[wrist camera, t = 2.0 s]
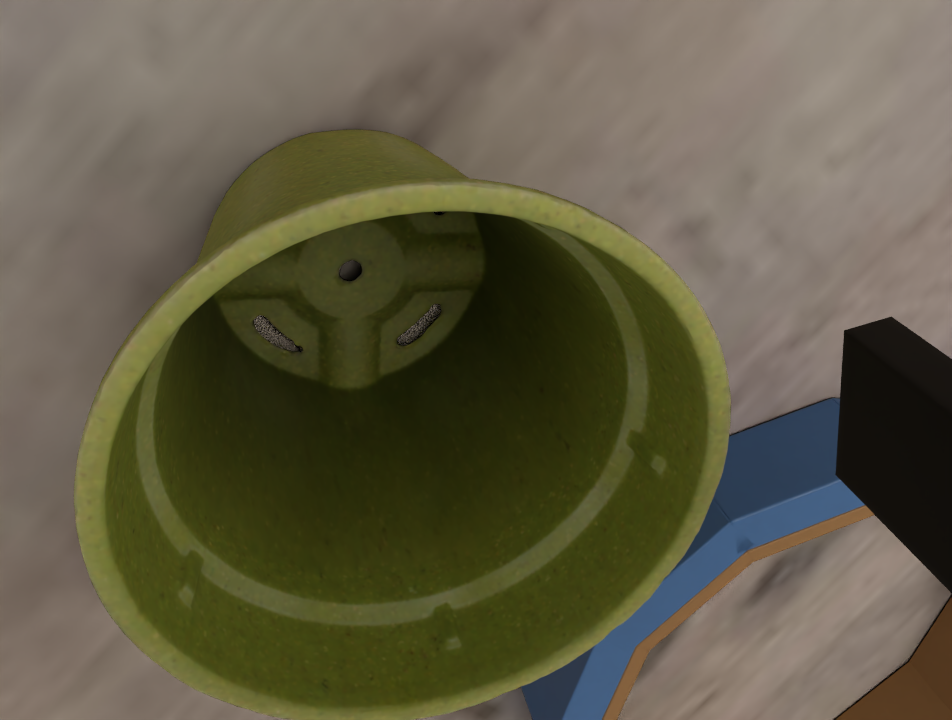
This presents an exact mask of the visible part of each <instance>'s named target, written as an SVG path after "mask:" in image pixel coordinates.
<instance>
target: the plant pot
mask: <svg viewBox="0 0 952 720" xmlns="http://www.w3.org/2000/svg"><path fill="white" fill-rule="evenodd" d="M440 211H445V213H444V214H442V215H436V214H434V212H440ZM351 260H354V261H356V262H358V263H360V265H361V267H362V273H361V275H360V276H358V277H357V279H356V280H354V281H345V280H343V279H342V278H341V277H340V276H339V269H340V267H341V265H343V264H344V263H345V262H348V261H351ZM433 304H440V308H441V315H440V316H439V317H438V318H437V319H436V320H435V321H434V322H433V323H432V324H431V325H430V326H429V327H428V328H427V330H426V331H425V333H424V334H423V335H422V336H421V337H420V338H418V339H417V340H415V341H414V342H412V343H411V344H408V345H406V346H403V345H398V344H397V338H398V337H399V336H400V335H401V334H402V333H405V332H406V330H408V329H409V328H410V327H411V326H413V325H414V324H415V323H416V322H417V321H418V320H419V319H420V318H421V317H423V316H424V314H425V313H427V312H428V311H429V309H430V307H431V306H432V305H433ZM258 315H262V316H265V317H266V318H268V320H269V321H270V323H271V324H273V325H274V326H275V327H276V328H277V329H278V330H279V331H280V332H281V333H282V334H284V335H285V336H286V337H287V338H289V339H291V340H293V341H294V343H295V345H296V346H301V347H302V349H303V351H302V352H299V351H295V352H292V351H288V350H285V349H282V348H280V347H277V346H275V345H274V344H272V343H270V342H269V341H267V340H266V339H265V338H264V337H263V336H262V335H261V334H260V333H259V332H258V331H257V330H256V328H255V325H254V322H253V320H254V319H255V318H256V317H257V316H258ZM730 413H731V395H730V388H729V380H728V374H727V369H726V364H725V361H724V357H723V353H722V349H721V346H720V343H719V341H718V338H717V336H716V334H715V331H714V329H713V327H712V324H711V322H710V321H709V319H708V317H707V315H706V313H705V311H704V309H703V308H702V306H701V305H700V303H699V301H698V300H697V298H696V297H695V296H694V294H693V293H692V291H691V290H690V289H689V287H688V286H687V285H686V283H685V282H684V281H683V280H682V279H681V278H680V277H679V275H678V274H677V273H676V272H675V271H674V270H673V269H672V268H671V267H670V266H669V265H668V264H667V263H666V262H665V261H664V260H663V259H662V258H661V257H660V256H658V255H657V254H656V253H655V252H654V251H653V250H651V249H650V248H649V247H648V246H646V245H645V244H644V243H642V242H641V241H640V240H638V239H637V238H635V237H634V236H632V235H631V234H630V233H628V232H627V231H625V230H624V229H622V228H621V227H619V226H617V225H615V224H614V223H612V222H610V221H608V220H606V219H605V218H603V217H601V216H599V215H597V214H596V213H594V212H592V211H590V210H588V209H587V208H584V207H582V206H579V205H577V204H575V203H572V202H570V201H567V200H565V199H562V198H559V197H556V196H553V195H550V194H547V193H544V192H542V191H539V190H535V189H531V188H526V187H521V186H516V185H511V184H506V183H499V182H492V181H485V180H479V179H469V178H467V177H466V176H464V175H463V174H462V173H461V172H459V171H458V170H457V169H455V168H454V167H452V166H451V165H449V164H448V163H446V162H445V161H443V160H442V159H440V158H439V157H437V156H435V155H434V154H432V153H431V152H429V151H427V150H426V149H424V148H422V147H421V146H419V145H418V144H416V143H414V142H412V141H409V140H407V139H405V138H403V137H400V136H397V135H394V134H390V133H387V132H381V131H374V130H359V129H358V130H336V131H326V132H316V133H309V134H306V135H303V136H300V137H297V138H294V139H292V140H290V141H287V142H285V143H283V144H281V145H280V146H278V147H276V148H274V149H272V150H270V151H269V152H268V153H266V154H265V155H263V156H262V157H260V158H259V159H257V160H256V161H255V162H254V163H253V164H252V165H250V166H249V167H248V168H247V169H246V170H245V171H244V172H243V173H242V174H241V175H240V176H239V178H238V179H237V180H236V181H235V182H234V183H233V185H232V186H231V187H230V189H229V190H228V191H227V193H226V195H225V197H224V198H223V200H222V202H221V204H220V205H219V207H218V209H217V211H216V213H215V215H214V218H213V220H212V223H211V226H210V229H209V231H208V234H207V236H206V239H205V242H204V245H203V247H202V250H201V253H200V255H199V258H198V261H197V263H196V264H195V265H194V266H193V267H191V268H190V269H189V270H188V271H187V272H186V273H185V274H184V275H183V276H182V277H180V278H179V279H178V280H177V281H176V282H175V283H174V284H173V285H172V286H171V287H170V288H169V289H168V290H167V291H166V292H165V293H164V294H163V295H162V296H161V297H160V298H159V299H158V300H157V301H156V302H155V303H154V304H153V305H152V306H151V308H150V309H149V310H148V311H147V312H146V313H145V315H144V316H143V317H142V318H141V320H140V321H139V322H138V324H137V325H136V326H135V327H134V329H133V330H132V331H131V333H130V334H129V335H128V337H127V338H126V340H125V341H124V343H123V344H122V346H121V348H120V349H119V351H118V352H117V354H116V355H115V357H114V359H113V361H112V363H111V365H110V366H109V368H108V370H107V372H106V374H105V375H104V377H103V379H102V381H101V384H100V386H99V389H98V391H97V394H96V396H95V398H94V401H93V403H92V406H91V409H90V412H89V415H88V418H87V421H86V424H85V428H84V432H83V435H82V439H81V443H80V448H79V452H78V456H77V466H76V473H75V483H74V508H75V519H76V529H77V534H78V539H79V543H80V547H81V551H82V555H83V559H84V562H85V565H86V568H87V571H88V573H89V576H90V579H91V582H92V584H93V586H94V588H95V590H96V592H97V595H98V596H99V598H100V600H101V602H102V604H103V605H104V607H105V609H106V610H107V612H108V613H109V615H110V616H111V618H112V619H113V620H114V621H115V623H116V624H117V625H118V626H119V628H120V629H121V630H122V631H123V633H124V634H125V635H126V636H127V637H128V638H129V639H130V640H131V641H132V642H133V643H134V644H135V645H136V646H137V647H138V648H139V649H140V650H141V651H142V652H143V653H144V654H146V655H147V656H148V657H149V658H150V659H151V660H153V661H154V662H156V663H157V664H158V665H159V666H161V667H162V668H163V669H165V670H166V671H167V672H169V673H170V674H171V675H172V676H174V677H175V678H177V679H179V680H180V681H182V682H183V683H185V684H187V685H188V686H190V687H192V688H193V689H195V690H197V691H200V692H202V693H204V694H207V695H209V696H211V697H214V698H216V699H219V700H222V701H225V702H227V703H230V704H233V705H235V706H237V707H241V708H245V709H249V710H252V711H255V712H257V713H261V714H264V715H268V716H272V717H278V718H283V719H290V720H413V719H420V718H426V717H432V716H438V715H443V714H447V713H452V712H455V711H458V710H461V709H463V708H467V707H471V706H474V705H477V704H480V703H482V702H485V701H488V700H491V699H493V698H495V697H497V696H499V695H501V694H503V693H506V692H509V691H512V690H514V689H517V688H519V687H521V686H524V685H527V684H530V683H532V682H534V681H536V680H537V679H539V678H541V677H544V676H546V675H548V674H550V673H552V672H554V671H556V670H557V669H559V668H561V667H563V666H565V665H567V664H568V663H570V662H571V661H573V660H574V659H576V658H577V657H579V656H580V655H582V654H583V653H585V652H586V651H588V650H589V649H591V648H592V647H593V646H595V645H596V644H598V643H599V642H600V641H602V640H603V639H604V638H605V637H606V636H607V635H608V634H609V633H610V632H611V631H612V630H613V629H615V628H616V627H617V626H619V625H621V624H622V623H624V622H625V621H626V620H627V619H629V618H630V617H631V616H632V615H633V614H634V613H635V612H636V611H637V610H638V609H639V608H640V607H641V606H642V605H643V604H644V603H645V602H646V601H647V600H648V599H649V598H650V597H651V596H652V595H653V593H654V592H655V591H656V589H657V588H658V587H659V585H660V584H661V582H662V581H663V579H664V578H665V577H666V576H667V575H669V574H670V572H671V571H672V570H673V569H674V568H675V566H676V565H677V564H678V562H679V561H680V560H681V559H682V558H683V556H684V555H685V553H686V552H687V550H688V548H689V547H690V545H691V543H692V542H693V540H694V538H695V536H696V535H697V533H698V532H699V530H700V528H701V526H702V523H703V521H704V519H705V517H706V514H707V512H708V509H709V506H710V504H711V502H712V500H713V497H714V495H715V492H716V489H717V487H718V484H719V482H720V479H721V476H722V473H723V469H724V464H725V460H726V455H727V450H728V441H729V431H730Z"/></svg>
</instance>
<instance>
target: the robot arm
mask: <svg viewBox="0 0 952 720" xmlns="http://www.w3.org/2000/svg"><path fill="white" fill-rule="evenodd" d="M835 475H836V476H837V477H838V478H839V479H840V480H841V481H842V482H843V483H844V484H845V485H846V486H847V487H848V488H849V489H850V490H851V491H852V492H853V493H854V494H855V495H856V496H857V497H858V498H859V499H860V500H861V501H862V502H863V503H864V504H865V505H866V506H867V507H868V508H869V509H870V511H871V512H872V513H873V514H874V515H875V516H876V517H877V518H878V519H879V520H880V521H881V522H882V523H883V524H884V525H885V526H886V527H887V528H888V529H889V530H890V531H891V532H892V533H893V534H894V535H895V536H896V537H897V538H898V539H899V540H900V541H901V542H902V543H903V544H904V545H905V546H906V547H907V548H908V549H909V550H910V551H911V552H912V553H913V554H914V555H915V556H916V557H917V558H918V559H919V560H920V561H921V562H922V563H923V564H924V565H925V566H926V567H927V568H928V569H929V570H930V571H931V573H932V574H933V575H934V576H935V577H936V578H937V579H938V580H939V581H940V582H941V583H942V584H943V585H944V586H945V587H946V588H947V589H948V590H949V591H950V592H951V593H952V359H951V358H949V357H948V356H947V355H945V354H944V353H942V352H941V351H939V350H938V349H937V348H935V347H934V346H932V345H931V344H929V343H928V342H927V341H925V340H924V339H922V338H921V337H920V336H918V335H917V334H915V333H914V332H912V331H911V330H910V329H908V328H907V327H905V326H904V325H902V324H901V323H900V322H898V321H897V320H895V319H894V318H893V317H888V318H885V319H882V320H878V321H875V322H871V323H868V324H865V325H861V326H858V327H854V328H851V329H848V330H844V344H843V360H842V376H841V392H840V409H839V425H838V441H837V457H836V473H835Z"/></svg>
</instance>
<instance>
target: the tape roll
mask: <svg viewBox="0 0 952 720" xmlns="http://www.w3.org/2000/svg"><path fill="white" fill-rule="evenodd" d="M839 409H840V399H839V398H832V399H827V400H825V401H822V402H819V403H817V404H814V405H811V406H809V407H806V408H803V409H801V410H798V411H795V412H793V413H790V414H787V415H785V416H782V417H779V418H777V419H774V420H771V421H769V422H766V423H763V424H761V425H758V426H755V427H753V428H750V429H748V430H745V431H742V432H740V433H737V434H734V435H732V436H729V441H728V450H727V455H726V460H725V464H724V469H723V473H722V476H721V479H720V482H719V484H718V487H717V489H716V492H715V495H714V497H713V500H712V502H711V504H710V506H709V509H708V512H707V514H706V517H705V519H704V521H703V523H702V526H701V528H700V530H699V532H698V533H697V535H696V536H695V538H694V540H693V542H692V543H691V545H690V547H689V548H688V550H687V552H686V553H685V555H684V556H683V558H682V559H681V560H680V561H679V562H678V564H677V565H676V566H675V568H674V569H673V570H672V571H671V572H670V574H669V575H667V576H666V577H665V578H664V579H663V581H662V582H661V584H660V585H659V587H658V588H657V589H656V591H655V592H654V593H653V595H652V596H651V597H650V598H649V599H648V600H647V601H646V602H645V603H644V604H643V605H642V606H641V607H640V608H639V609H638V610H637V611H636V612H635V613H634V614H633V615H632V616H631V617H630V618H629V619H627V620H626V621H625V622H624V623H622V624H621V625H619V626H617V627H616V628H615V629H613V630H612V631H611V632H610V633H609V634H608V635H607V636H606V637H605V638H604V639H603V640H602V641H600V642H599V643H598V644H596V645H595V646H593V647H592V648H591V649H589V650H588V651H586V652H585V653H583V654H582V655H580V656H579V657H577V658H576V659H574V660H573V661H571V662H570V663H568V664H567V665H565V666H563V667H561V668H559V669H557V670H556V671H554V672H552V673H550V674H548V675H546V676H544V677H541V678H539V679H537V680H536V681H534V682H532V683H530V684H527V685H524V686H521V689H522V691H523V694H524V697H525V700H526V703H527V705H528V708H529V711H530V714H531V716H532V719H533V720H617V718H618V716H619V714H620V712H621V710H622V708H623V705H624V703H625V701H626V699H627V697H628V695H629V693H630V691H631V689H632V686H633V684H634V682H635V680H636V678H637V676H638V674H639V672H640V670H641V668H642V665H643V663H644V661H645V659H646V657H647V655H648V653H649V651H650V650H651V649H652V648H653V647H654V646H655V645H657V644H658V643H659V642H660V641H661V640H662V639H664V638H665V637H666V636H667V635H668V634H669V633H671V632H672V631H673V630H674V629H675V628H676V627H678V626H679V625H680V624H681V623H682V622H683V621H685V620H686V619H687V618H688V617H689V616H690V615H692V614H693V613H694V612H695V611H696V610H697V609H699V608H700V607H701V606H702V605H703V604H704V603H706V602H707V601H708V600H709V599H710V598H711V597H713V596H714V595H715V594H716V593H717V592H718V591H720V590H721V589H722V588H723V587H724V586H725V585H727V584H728V583H729V582H730V581H731V580H732V579H734V578H735V577H736V576H737V575H738V574H739V573H741V572H742V571H743V570H744V569H745V568H746V567H748V566H749V565H750V564H751V563H752V562H754V561H757V560H760V559H762V558H765V557H767V556H770V555H772V554H775V553H778V552H780V551H783V550H785V549H788V548H790V547H793V546H796V545H798V544H801V543H803V542H806V541H809V540H811V539H814V538H816V537H819V536H821V535H824V534H827V533H829V532H832V531H834V530H837V529H839V528H842V527H845V526H847V525H850V524H852V523H855V522H857V521H860V520H863V519H865V518H868V517H870V516H873V515H874V514H873V513H872V512H871V511H870V509H869V508H868V507H867V506H866V505H865V504H864V503H863V502H862V501H861V500H860V499H859V498H858V497H857V496H856V495H855V494H854V493H853V492H852V491H851V490H850V489H849V488H848V487H847V486H846V485H845V484H844V483H843V482H842V481H841V480H840V479H839V478H838V477H837V476H836V475H835V473H836V457H837V441H838V425H839ZM836 720H952V597H951V598H950V600H949V601H948V603H947V604H946V606H945V608H944V609H943V611H942V612H941V614H940V615H939V617H938V618H937V620H936V621H935V623H934V624H933V626H932V627H931V629H930V630H929V632H928V634H927V635H926V637H925V638H924V640H923V641H922V643H921V644H920V646H919V647H918V649H917V650H916V652H915V653H914V655H913V656H912V658H911V660H910V661H909V662H908V663H907V664H905V665H904V666H903V667H902V668H900V669H899V670H898V671H896V672H895V673H894V674H893V675H891V676H890V677H889V678H888V679H886V680H885V681H884V682H883V683H881V684H880V685H879V686H877V687H876V688H875V689H874V690H872V691H871V692H870V693H869V694H867V695H866V696H865V697H863V698H862V699H861V700H860V701H858V702H857V703H856V704H855V705H853V706H852V707H851V708H850V709H848V710H847V711H846V712H844V713H843V714H842V715H841V716H839V717H838V718H837V719H836Z"/></svg>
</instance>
